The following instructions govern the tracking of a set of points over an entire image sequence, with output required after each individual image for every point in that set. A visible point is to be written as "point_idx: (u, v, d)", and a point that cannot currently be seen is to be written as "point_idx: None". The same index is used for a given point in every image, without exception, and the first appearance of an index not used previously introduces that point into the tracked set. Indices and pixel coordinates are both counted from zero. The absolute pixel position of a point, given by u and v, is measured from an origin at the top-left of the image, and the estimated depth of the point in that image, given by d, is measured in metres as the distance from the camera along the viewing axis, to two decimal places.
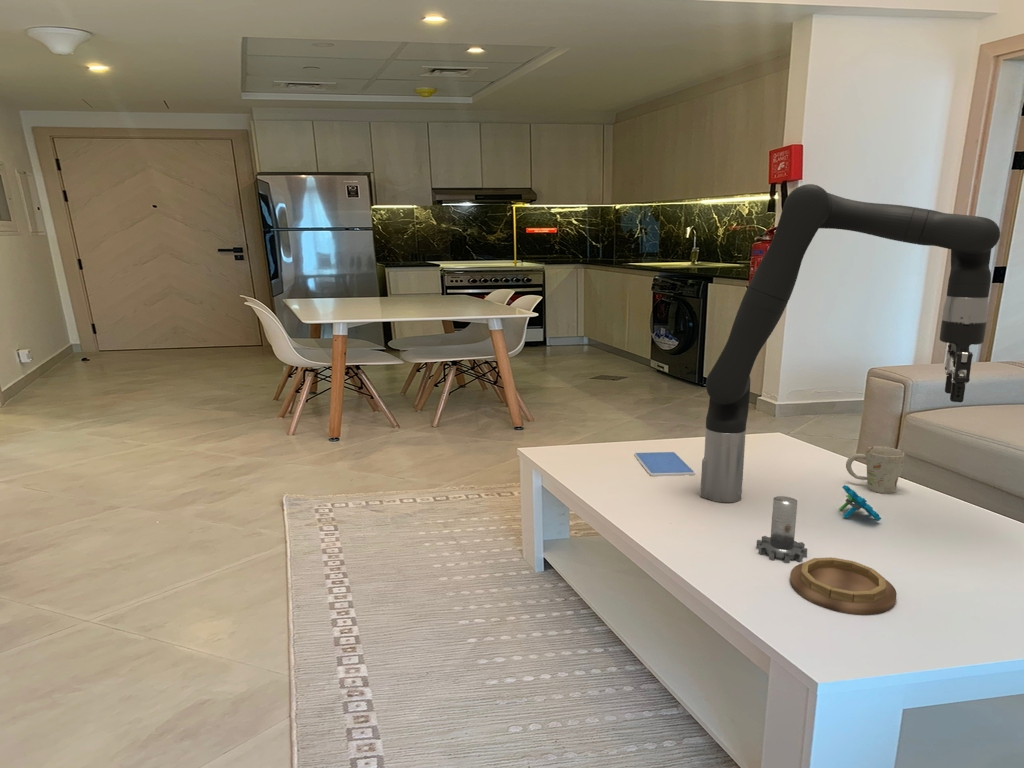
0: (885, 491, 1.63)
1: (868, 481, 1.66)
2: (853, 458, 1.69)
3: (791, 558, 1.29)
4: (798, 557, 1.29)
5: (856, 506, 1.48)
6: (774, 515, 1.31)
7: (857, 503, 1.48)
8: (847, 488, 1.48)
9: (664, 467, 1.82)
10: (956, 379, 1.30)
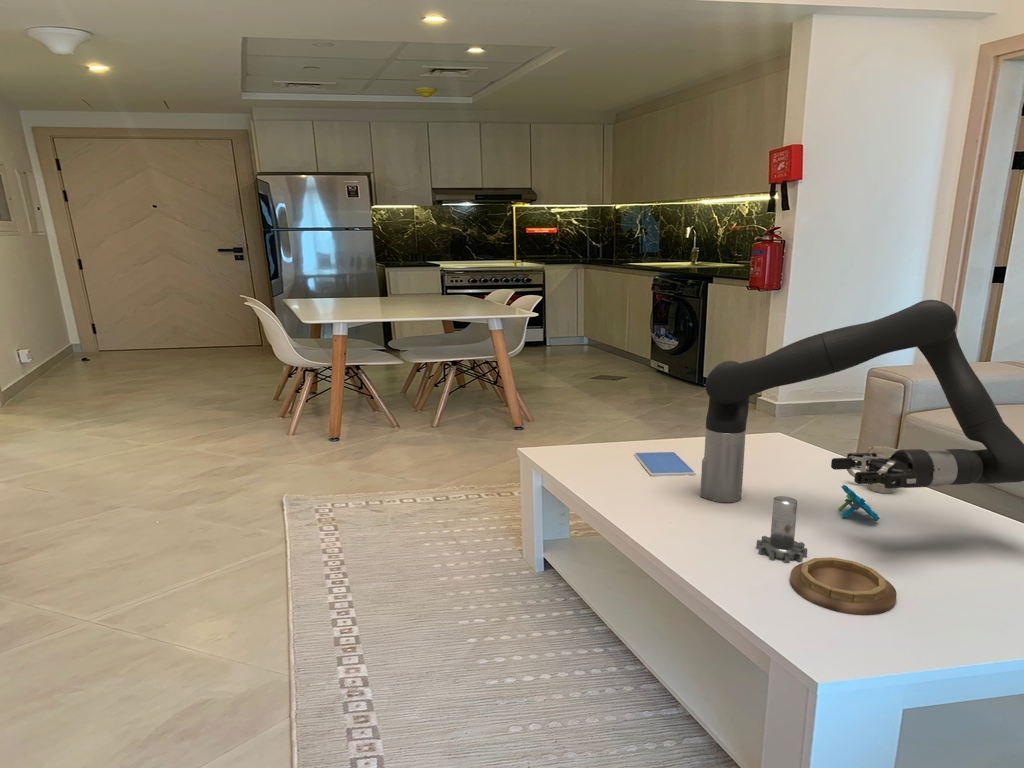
0: (885, 491, 1.63)
1: None
2: None
3: (791, 558, 1.29)
4: (798, 557, 1.29)
5: (855, 506, 1.48)
6: (774, 515, 1.31)
7: (856, 503, 1.48)
8: (846, 488, 1.48)
9: (664, 467, 1.82)
10: (890, 477, 1.23)
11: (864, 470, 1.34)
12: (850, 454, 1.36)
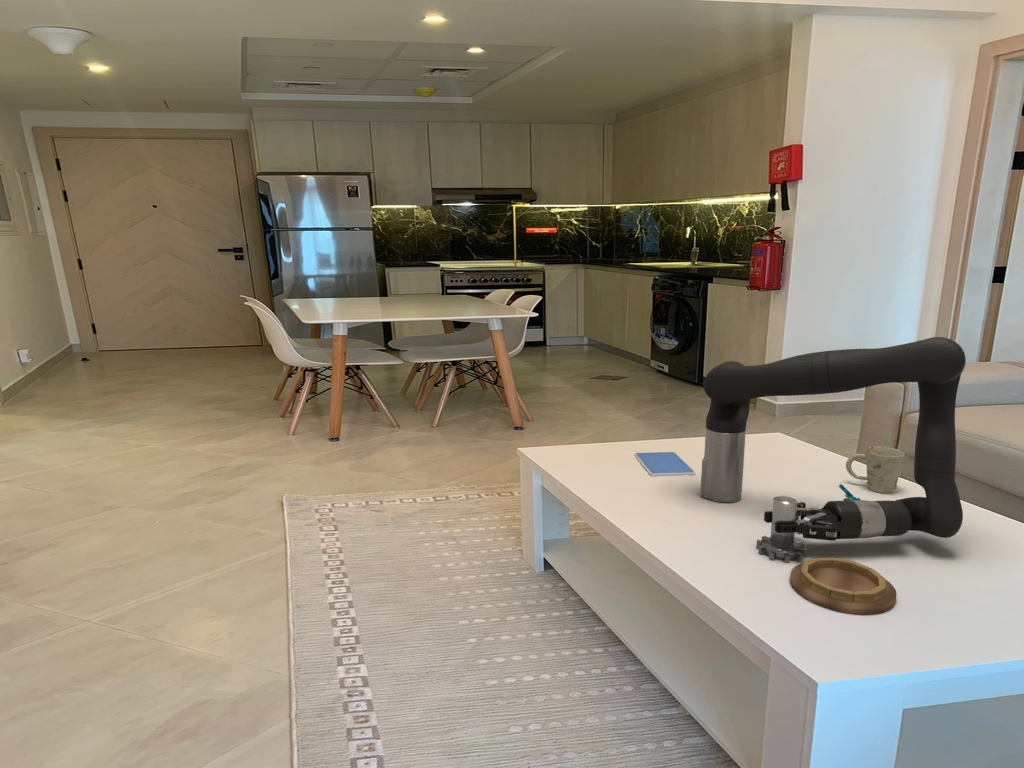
0: (885, 491, 1.63)
1: (868, 481, 1.66)
2: (853, 458, 1.69)
3: (791, 558, 1.29)
4: (798, 557, 1.29)
5: None
6: (774, 515, 1.31)
7: None
8: (842, 487, 1.49)
9: (664, 467, 1.82)
10: (808, 528, 1.27)
11: None
12: None
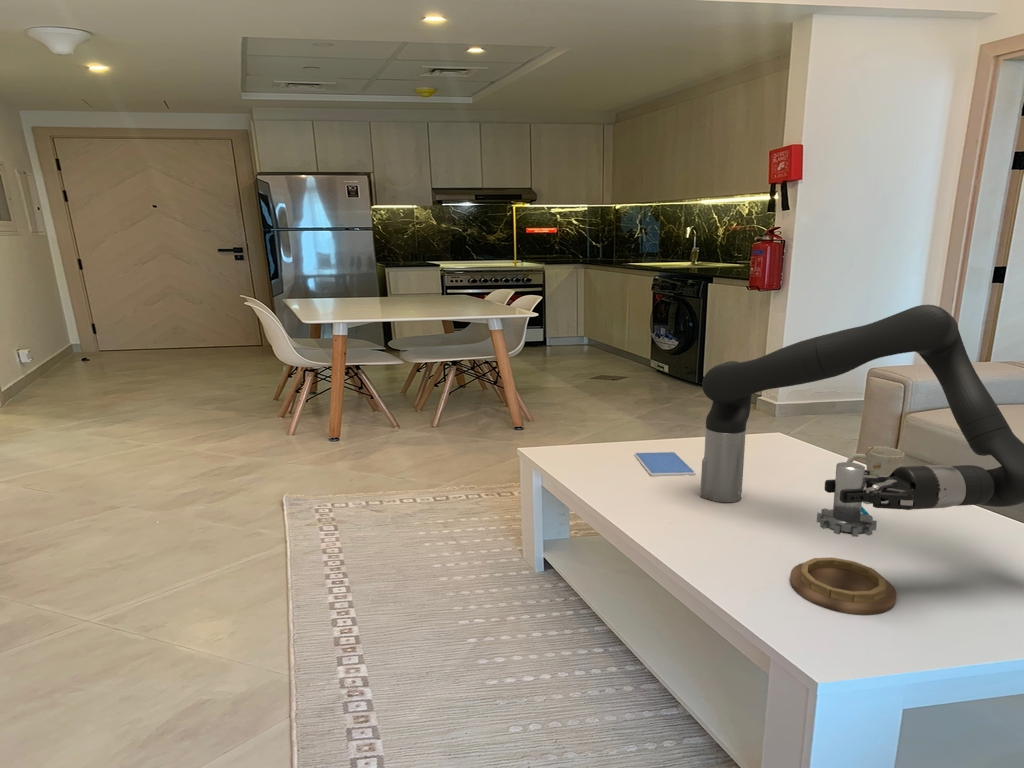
0: None
1: None
2: (853, 458, 1.69)
3: (860, 531, 1.14)
4: (867, 530, 1.13)
5: None
6: (837, 484, 1.15)
7: None
8: None
9: (664, 467, 1.82)
10: (879, 496, 1.11)
11: None
12: None
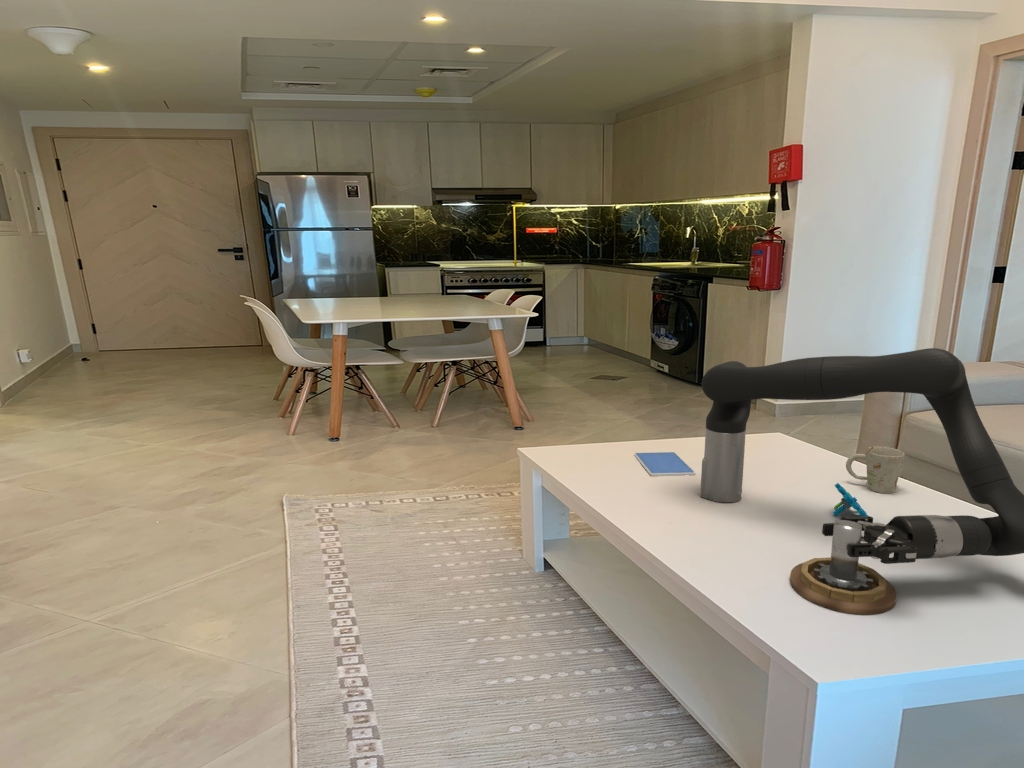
0: (885, 491, 1.63)
1: (868, 481, 1.66)
2: (853, 458, 1.69)
3: (856, 590, 1.15)
4: (863, 590, 1.14)
5: (845, 504, 1.49)
6: (835, 542, 1.16)
7: (847, 501, 1.49)
8: (837, 486, 1.49)
9: (664, 467, 1.82)
10: (887, 552, 1.10)
11: None
12: (843, 518, 1.23)
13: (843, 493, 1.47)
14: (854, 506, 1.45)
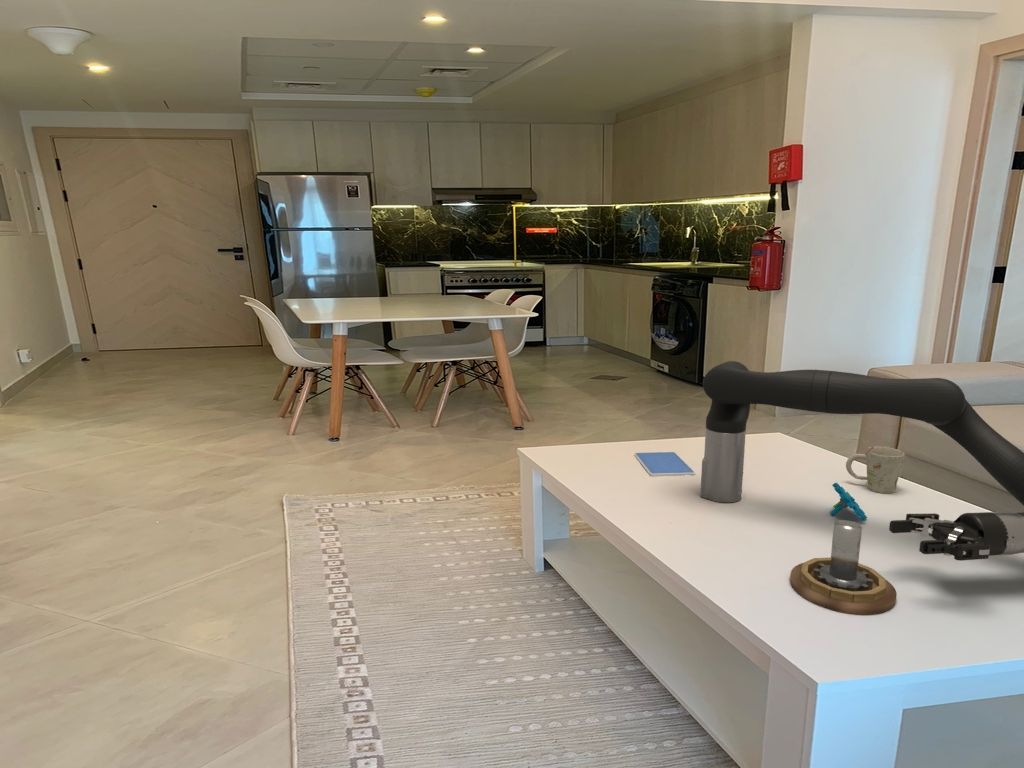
0: (885, 491, 1.63)
1: (868, 481, 1.66)
2: (853, 458, 1.69)
3: (856, 590, 1.15)
4: (863, 590, 1.14)
5: (843, 504, 1.49)
6: (835, 542, 1.16)
7: (844, 501, 1.49)
8: (834, 485, 1.50)
9: (664, 467, 1.82)
10: (962, 549, 1.10)
11: (926, 534, 1.20)
12: (909, 515, 1.23)
13: (840, 492, 1.48)
14: (850, 506, 1.45)
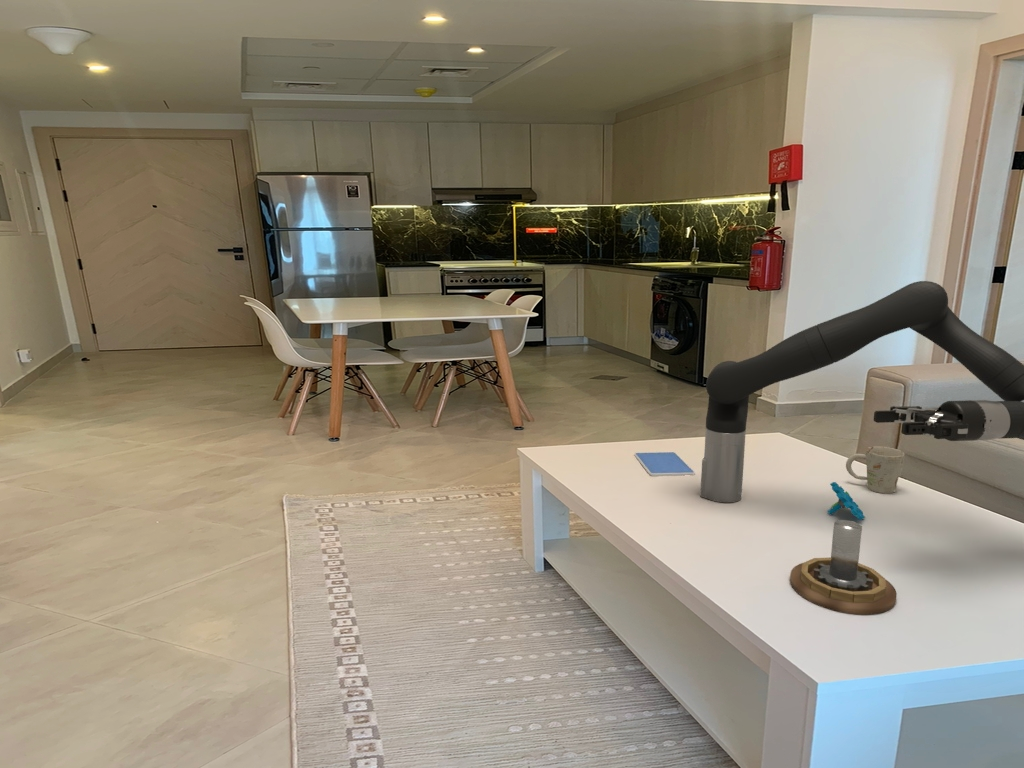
0: (885, 491, 1.63)
1: (868, 481, 1.66)
2: (853, 458, 1.69)
3: (856, 590, 1.15)
4: (863, 590, 1.14)
5: (840, 503, 1.50)
6: (835, 542, 1.16)
7: (842, 500, 1.50)
8: (832, 484, 1.50)
9: (664, 467, 1.82)
10: (941, 427, 1.16)
11: None
12: (893, 407, 1.29)
13: (837, 492, 1.48)
14: (847, 505, 1.45)
